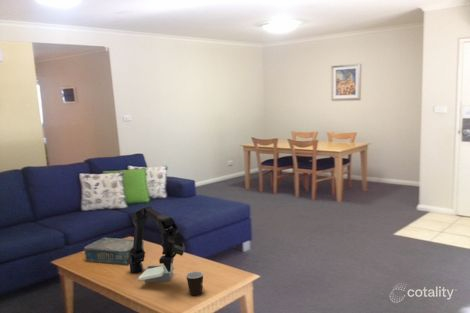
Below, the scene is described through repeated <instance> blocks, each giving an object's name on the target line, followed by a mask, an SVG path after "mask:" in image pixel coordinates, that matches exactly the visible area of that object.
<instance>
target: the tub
mask: <svg viewBox="0 0 470 313" xmlns="http://www.w3.org/2000/svg"><path fill="white" fill-rule="evenodd" d="M163 265H164V264H163ZM163 265H147V266H146V268H145V270H146V269H150V268H155V267H160V266H163ZM173 276H174V270H173V271H172V272H170V273H164V274H163V275H162V276H161V277H156V278H150V279H145V280H144V283H162V282H165V283H167V282H168V283H169V282H171V280H172V279H173Z"/></svg>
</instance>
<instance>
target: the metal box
mask: <svg viewBox="0 0 470 313" xmlns="http://www.w3.org/2000/svg"><path fill="white" fill-rule="evenodd" d="M133 243H134V239H127V238H112V237H101V238H100V239H98V240H96V241H93V242H92V243H89V244H87V245H86V246H84V247H83V250H84V256H85V261H86V262H89V263H96V264H97V263H99V264H108V263H109V264H108V265H110V264H112V265H118V264H119V265H118V266H120V265H121V266H130V265H129V264H127V261H126V260H127V259H128V257H129V254H130V251H131V249H132V248H133ZM142 249H143V250H144V251H145V247H144V240H143V241H142Z"/></svg>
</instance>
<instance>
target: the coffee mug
mask: <svg viewBox="0 0 470 313" xmlns="http://www.w3.org/2000/svg"><path fill="white" fill-rule="evenodd" d="M186 280H187V286H188V287H187V288H188V290H189V295H190V296H191V297H199V296H202V294H203V288H204V287H203V284H204V273H203V272H202V271H198V270H197V271H191V272H188V273H186Z"/></svg>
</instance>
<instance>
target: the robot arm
mask: <svg viewBox="0 0 470 313" xmlns="http://www.w3.org/2000/svg"><path fill="white" fill-rule="evenodd" d="M131 219H132V223H133V224H134V230H133V240H134V243H133V248H132V249H131V251H130V254H129V257H128V259H127V260H126V261H127V264H129V265H128V266H129V272H130V274H140V273H143V271H144V265H143V264H144V263H142V262H144V261H145V257H146V255H145V254H146V252H145V249H144V250H143V249H142V241H144V240H143V239H144V227H145V226H146V224H147V222H148V219H150V220H152V221H153V222H155V223H156V224H157V227H158V228H159V229H160V230H159V231H158V232H159V233H161V241H162V243H161V247H162V251H161V253H162V255H161V256H160V258H159V259H158V261H159V264H163V265H164V266H165V267H166V269H167V271H168V272H170V270H171V263H172V264H174V260H175V259H174V258H175V257H176V256H177V255H178V256H183V255H184V253H185V249H186V246H185V245H184V239H185V238H184V236H183V234H181V232H180V231H178V230H179V229H178V226H177V224H176V222H175V220H174V218H173V217H172V216H169V215H164V214H162V213H160V212H158V211H157V210H155V209H153V208H152V206H150V205H148V206H144V207H141V208H140V209H139V210H137V211H136V212H135V211H134V212H133V213H132V215H131Z"/></svg>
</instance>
